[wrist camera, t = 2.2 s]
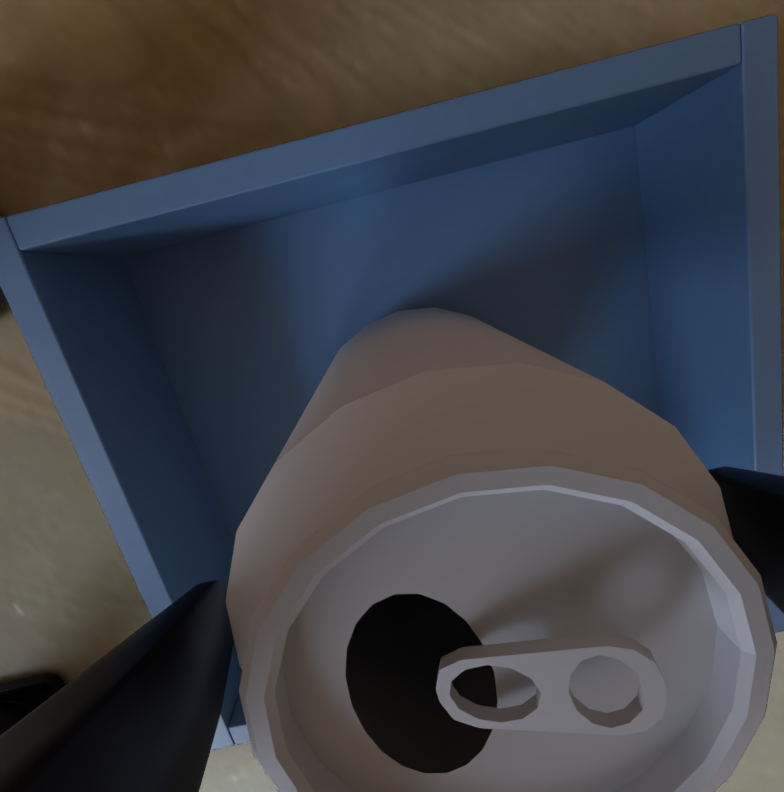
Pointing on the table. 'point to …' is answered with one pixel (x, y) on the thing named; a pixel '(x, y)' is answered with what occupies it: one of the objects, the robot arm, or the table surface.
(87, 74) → the table surface
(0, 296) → the pill bottle
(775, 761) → the table surface
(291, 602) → the can
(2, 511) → the table surface
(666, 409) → the tub
